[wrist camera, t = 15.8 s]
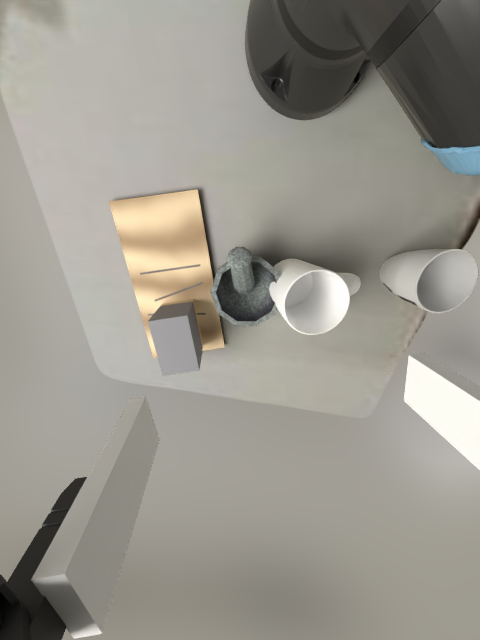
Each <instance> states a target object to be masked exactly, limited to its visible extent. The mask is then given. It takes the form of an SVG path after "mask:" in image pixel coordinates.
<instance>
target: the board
mask: <svg viewBox="0 0 480 640" xmlns="http://www.w3.org/2000/svg"><path fill="white" fill-rule="evenodd" d="M109 203H110V207H111V210H112V214H113V217H114V221H115V224H116V228H117V231H118V235H119V238H120V242H121V245H122V249H123V252H124V256H125V259H126V263H127V266H128V270H129V273H130V277H131V281H132V284H133V288H134V291H135V295H136V298H137V302H138V305H139V309H140V312H141V316H142V319H143V323H144V326H145V330H146V333H147V337H148V340H149V344H150V347H151V351H152V354H153V358H158V357H157V353H156V350H155V346H154V343H153V339H152V335H151V332H150V328H149V325H148V320H149V319H150V318H151V317H152V315H153V314H154V313H155V312H156V311H157V309H158V308H159V307H160V306H161V304H165V303H172V302H179V301H185V300H192V299H194V303H195V308H196V312H197V317H198V322H199V327H200V332H201V337H202V342H203V350H202V351H205V350H211V349H218V348H224V347H225V345H224V339H223V333H222V327H221V321H220V316H219V314H218V313H217V311H216V308H215V305H214V302H213V299H212V296H211V293H210V292H211V288H212V285H213V282H214V280H213V275H212V269H211V263H210V257H209V251H208V245H207V239H206V233H205V228H204V222H203V216H202V210H201V204H200V198H199V192H198V189H197V190H190V191H183V192H175V193H168V194H161V195H153V196H146V197H139V198H131V199H124V200H117V201H109Z"/></svg>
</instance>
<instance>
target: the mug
mask: <svg viewBox="0 0 480 640" xmlns="http://www.w3.org/2000/svg"><path fill="white" fill-rule="evenodd" d="M273 267H274V268H275V269H276V270H277V271H279V274H280V278H279V279H278V281H277V283H275V282H271V284H270V287H269V291H270V295H271V297H272V299H273V301H274V302H275V305H276V307H277V309H278V310H279V312H280V313H281V314H282V316H283V318H285V320H286V321H287V323H288V324H289V325H290V326H291V327H292V328H293V329H295V330H296V331H298V332H300V333H303V334H309V335H315V334H321V333H324V332H327V331H329V330H331V329H333V328H334V327H335V326H337V325H338V324H339V323H340V321H341V320H342V319H343V317H344V316H345V314H346V312H347V310H348V306H349V299H350V296H352V295H353V294H355V293H356V292H357V291H358V290H359V289H360V286H361V281H360V278H359V277H357V276H356V275H354V274H351V273H335V272H333V271H331V270H328V269H325V268H322V267H319V266H316V265H313V264H310V263H307V262H305V261H302V260H298V259H285V260H282V261H280V262H279V263H277V264H276V265H275V266H273Z"/></svg>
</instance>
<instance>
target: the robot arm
mask: <svg viewBox="0 0 480 640" xmlns="http://www.w3.org/2000/svg"><path fill="white" fill-rule="evenodd" d="M245 49H246V58H247V64H248V68H249V71H250V75H251V77H252V80H253V82H254V85H255V87H256V88H257V90H258V92H259V93H260V95H261V96H262V98H263V99H264V100H265V101H266V103H267V104H268V105H269V106H271V107H272V108H273V109H274V110H275V111H277V112H278V113H280V114H282V115H284V116H286V117H289V118H292V119H297V120H310V119H315V118H318V117H321V116H323V115H326V114H327V113H329V112H331V111H332V110H334V109H335V108H336V107H338V106H339V105H340V104H341V103H342V102H343V101H344V100H345V99H346V98H347V96H348V95H349V94H350V93H351V92H352V91H353V90H354V88H355V87H356V86H357V84H358V83H359V81H360V80H361V78H362V77H363V75H364V73H365V71H366V69H367V67H368V65H369V63H370V60H371V61H372V63H373V64H374V66H375V67H376V69H377V71H378V72H379V74H380V75H381V77H382V78H383V80H384V81H385V83H386V84H387V86H388V87H389V89H390V90H391V92H392V93H393V95H394V96H395V98H396V99H397V101H398V102H399V104H400V106H401V107H402V109H403V110H404V112H405V113H406V115H407V116H408V118H409V119H410V121H411V122H412V124H413V126H414V127H415V129H416V130H417V132H418V133H419V135H420V136H421V141H422V144H423V145H424V146H425V147H426V148H427V149H429V150H431V151H432V152H433V153H434V154H435V156H436V157H437V158H438V159H439V161H440V162H441V163H442V165H443V166H444V167H445V168H446V169H448V170H449V171H451V172H453V173H457V174H466V175H471V176H474V175H480V0H250V5H249V10H248V17H247V24H246V34H245ZM404 401H405V402H406V403H407V404H408V405H409V406H410V407H411V408H412V409H414V410H415V411H416V412H417V413H418V414H419V415H420V416H421V417H422V418H423V419H424V420H425V421H427V422H428V423H429V424H430V425H431V426H432V427H433V428H434V429H435V430H436V431H437V432H438V433H440V434H441V435H442V436H443V437H444V438H445V439H446V440H447V441H448V442H449V443H451V444H452V445H453V446H454V447H455V448H456V449H457V450H458V451H459V452H461V454H462V455H464V456H465V457H466V458H467V459H468V460H469V461H470V462H471V463H472V464H473V465H474V466H476V467H477V468H478V469H479V470H480V386H479V385H477V384H476V383H474V382H472V381H471V380H469V379H467V378H465V377H464V376H462V375H460V374H459V373H457V372H455V371H454V370H452V369H450V368H449V367H447V366H445V365H444V364H442V363H440V362H439V361H437V360H435V359H433V358H432V357H430V356H428V355H426V354H425V353H420V354H413V355H409V360H408V368H407V377H406V386H405V395H404ZM158 443H159V437H158V434H157V430H156V427H155V424H154V421H153V418H152V414H151V411H150V408H149V405H148V402H147V398H146V396H145V397H138V398H131V399H130V400H129V401H128V403H127V405H126V407H125V409H124V411H123V413H122V414H121V416H120V418H119V420H118V422H117V423H116V425H115V427H114V429H113V431H112V433H111V434H110V436H109V438H108V440H107V442H106V444H105V446H104V447H103V449H102V451H101V453H100V455H99V457H98V458H97V460H96V462H95V464H94V466H93V467H92V469H91V471H90V473H89V475H88V477H84V478H77V479H75V480H74V481H73V482H72V483H71V484H70V485H69V486H68V487H67V488H66V489H65V490H64V492H62V493H61V495H60V496H59V498H58V500H57V501H56V503H55V505H54V506H53V508H52V510H51V513H50V514H49V515H48V516H47V518H46V520H45V521H44V523H43V524H42V528H41V529H39V531H38V533H37V534H36V536H35V537H34V539H33V541H32V542H31V544H30V546H29V547H28V549H27V551H26V552H25V554H24V555H23V557H22V559H21V560H20V562H19V564H18V565H17V567H16V569H15V570H14V572H13V573H12V575H11V577H10V578H9V580H8V582H6V580H5V579H4V578H3V577H2V575H0V640H61V639H62V637H63V634H64V632H65V629H67V630H68V631H69V633H70V634H71V635H72V637H73V638H80V637H85V636H92V635H97V634H102V633H103V630H104V626H105V623H106V619H107V616H108V612H109V609H110V606H111V603H112V599H113V596H114V592H115V589H116V586H117V582H118V579H119V576H120V572H121V569H122V565H123V562H124V559H125V555H126V552H127V548H128V545H129V542H130V538H131V535H132V531H133V528H134V525H135V521H136V518H137V515H138V511H139V508H140V504H141V501H142V497H143V494H144V490H145V487H146V484H147V481H148V477H149V474H150V470H151V467H152V464H153V460H154V457H155V453H156V450H157V447H158Z"/></svg>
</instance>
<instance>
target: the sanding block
mask: <svg viewBox="0 0 480 640" xmlns="http://www.w3.org/2000/svg"><path fill="white" fill-rule="evenodd" d="M148 325H149V328H150V332H151V335H152V339H153V343H154V346H155V350H156V353H157V357H158V360H159V364H160V368H161V371H162V375H163V376H166V375H173V374H179V373H186V372H192V371H198V370H199V369H200V363H201V356H202V350H203V342H202V337H201V332H200V327H199V322H198V317H197V312H196V308H195V303H194V299H192V300H185V301H179V302H172V303H165V304H161V306H160V307H159V308H158V309H157V311H156V312H155V313H154V314H153V315H152V317H151V318H150V319H149V320H148Z"/></svg>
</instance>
